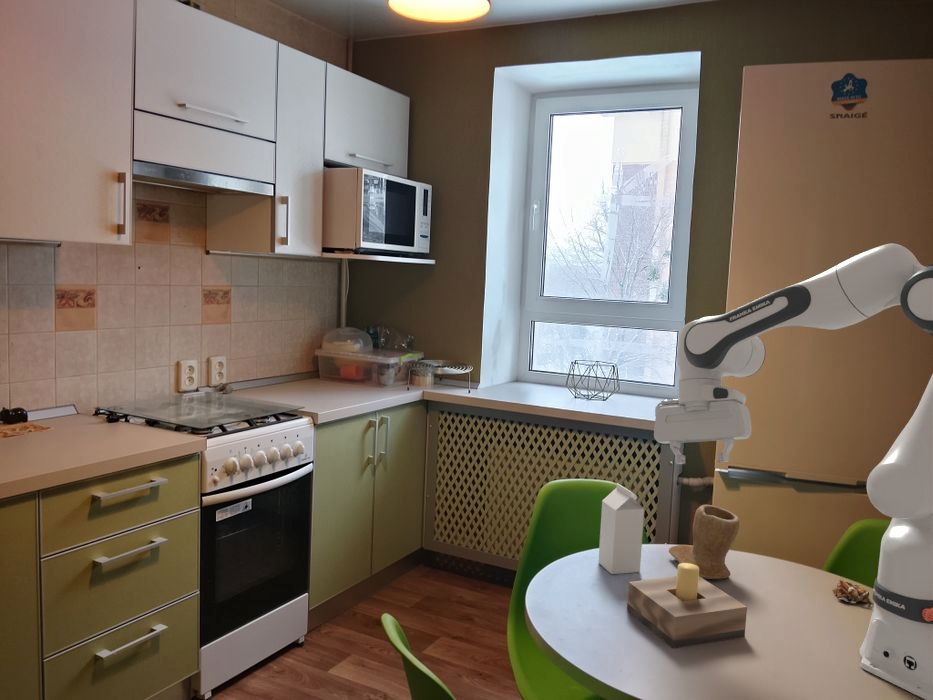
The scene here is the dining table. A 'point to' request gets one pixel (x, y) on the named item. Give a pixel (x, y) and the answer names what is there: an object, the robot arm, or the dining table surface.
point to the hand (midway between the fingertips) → (701, 462)
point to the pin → (687, 581)
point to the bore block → (686, 612)
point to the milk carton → (621, 532)
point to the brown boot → (709, 542)
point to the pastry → (851, 592)
